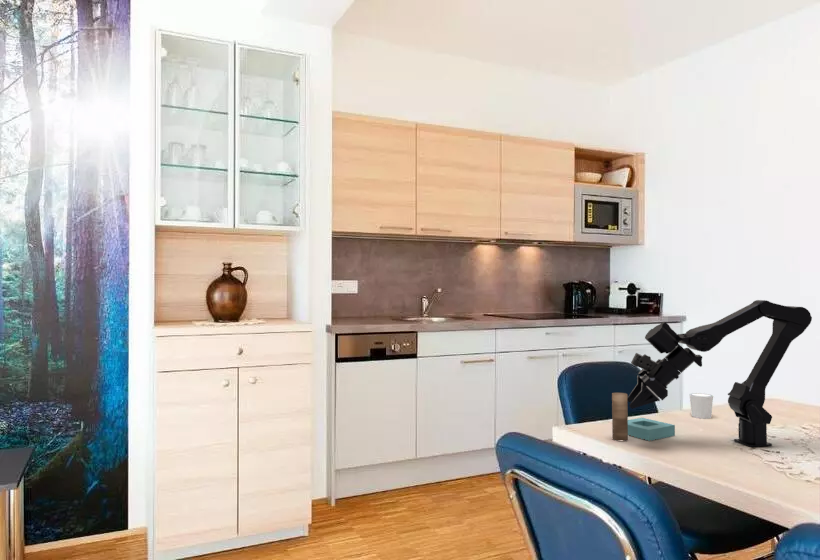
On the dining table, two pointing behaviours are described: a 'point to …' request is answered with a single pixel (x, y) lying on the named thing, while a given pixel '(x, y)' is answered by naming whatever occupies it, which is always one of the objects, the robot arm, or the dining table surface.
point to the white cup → (701, 405)
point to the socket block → (650, 429)
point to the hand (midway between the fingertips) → (629, 404)
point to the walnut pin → (619, 416)
